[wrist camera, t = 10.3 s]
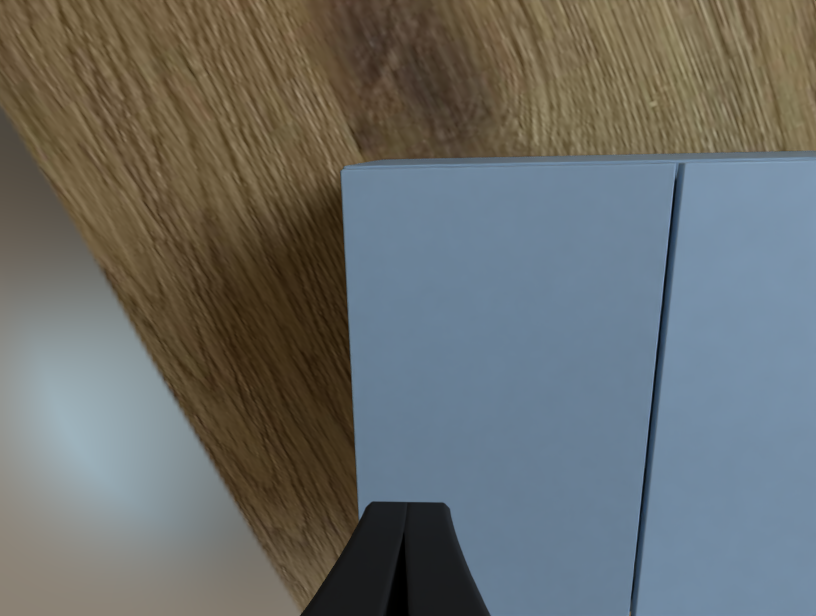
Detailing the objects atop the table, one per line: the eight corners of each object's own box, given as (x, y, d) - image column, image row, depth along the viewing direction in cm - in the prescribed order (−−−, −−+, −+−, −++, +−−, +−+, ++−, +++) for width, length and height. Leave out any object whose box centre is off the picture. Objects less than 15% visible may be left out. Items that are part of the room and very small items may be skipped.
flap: (1039, 155, 10) (1057, 155, 10) (908, 635, 13) (918, 646, 13) (678, 162, 11) (684, 162, 10) (629, 621, 14) (633, 632, 13)
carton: (812, 150, 17) (1063, 152, 10) (758, 473, 20) (921, 648, 13) (380, 159, 18) (335, 167, 11) (390, 466, 21) (360, 624, 14)
